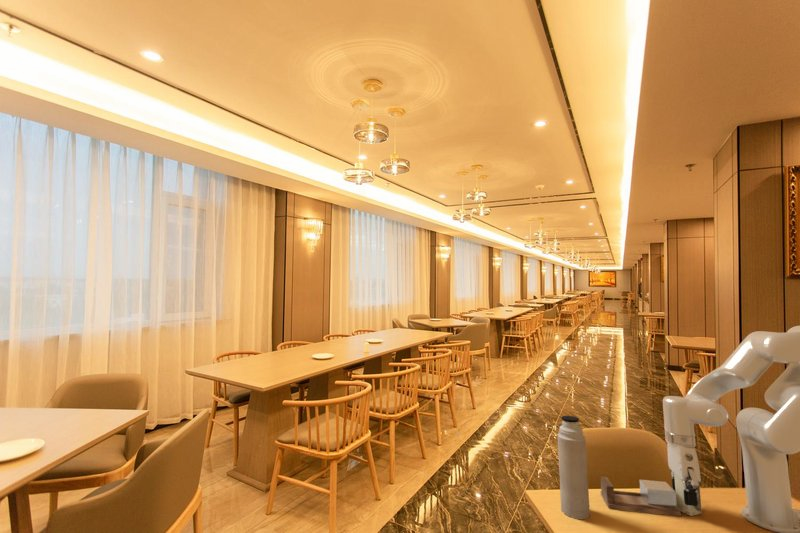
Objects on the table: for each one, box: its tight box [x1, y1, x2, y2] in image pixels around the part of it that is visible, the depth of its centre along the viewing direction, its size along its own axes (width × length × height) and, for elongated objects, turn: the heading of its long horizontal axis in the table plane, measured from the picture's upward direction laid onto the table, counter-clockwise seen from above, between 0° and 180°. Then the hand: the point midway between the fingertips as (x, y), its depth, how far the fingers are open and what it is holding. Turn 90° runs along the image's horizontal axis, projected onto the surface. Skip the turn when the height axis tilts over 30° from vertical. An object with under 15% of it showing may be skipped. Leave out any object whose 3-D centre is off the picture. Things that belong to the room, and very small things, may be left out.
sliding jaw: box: [639, 479, 677, 508], centre depth 116 cm, size 8×6×5 cm
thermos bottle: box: [556, 415, 590, 520], centre depth 115 cm, size 8×8×28 cm
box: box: [673, 471, 702, 517], centre depth 114 cm, size 5×4×13 cm
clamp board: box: [600, 476, 682, 517], centre depth 117 cm, size 20×8×6 cm, turn 76°
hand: (684, 498), depth 114 cm, fingers open, 6 cm apart
